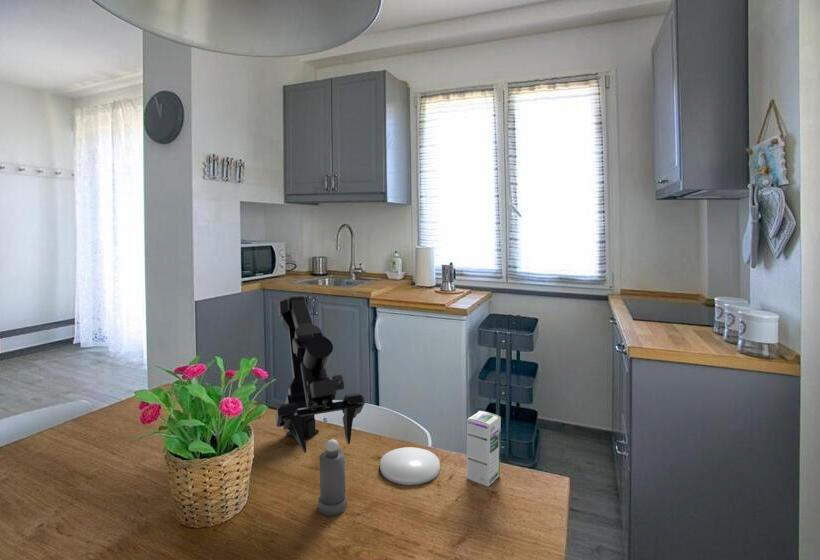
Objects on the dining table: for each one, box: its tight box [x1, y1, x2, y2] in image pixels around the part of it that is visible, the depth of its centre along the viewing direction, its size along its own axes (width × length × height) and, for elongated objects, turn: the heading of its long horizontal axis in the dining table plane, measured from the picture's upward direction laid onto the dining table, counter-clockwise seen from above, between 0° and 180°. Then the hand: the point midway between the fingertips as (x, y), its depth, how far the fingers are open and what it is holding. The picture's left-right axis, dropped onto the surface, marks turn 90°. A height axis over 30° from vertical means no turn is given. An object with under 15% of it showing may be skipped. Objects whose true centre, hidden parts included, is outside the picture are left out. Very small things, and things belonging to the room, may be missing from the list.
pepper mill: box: [318, 438, 348, 517], centre depth 87 cm, size 6×6×14 cm
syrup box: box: [466, 410, 502, 487], centre depth 98 cm, size 6×6×14 cm
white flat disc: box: [379, 446, 441, 486], centre depth 103 cm, size 14×14×2 cm
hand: (327, 447), depth 91 cm, fingers open, 9 cm apart
